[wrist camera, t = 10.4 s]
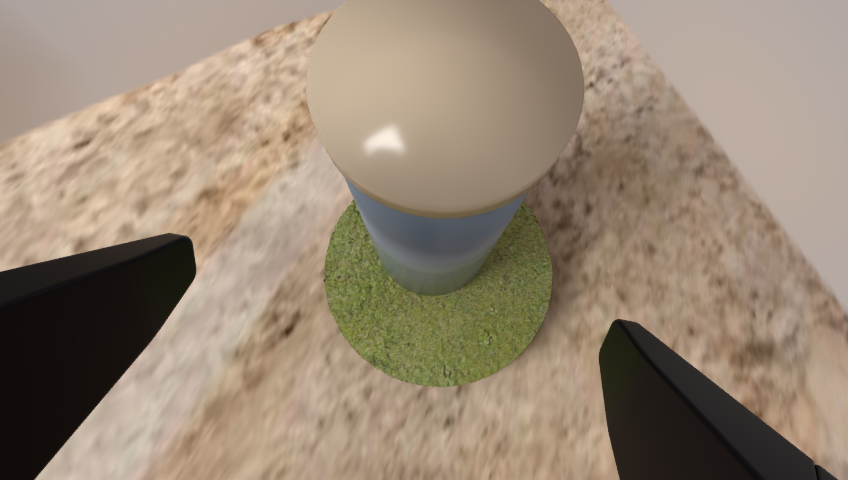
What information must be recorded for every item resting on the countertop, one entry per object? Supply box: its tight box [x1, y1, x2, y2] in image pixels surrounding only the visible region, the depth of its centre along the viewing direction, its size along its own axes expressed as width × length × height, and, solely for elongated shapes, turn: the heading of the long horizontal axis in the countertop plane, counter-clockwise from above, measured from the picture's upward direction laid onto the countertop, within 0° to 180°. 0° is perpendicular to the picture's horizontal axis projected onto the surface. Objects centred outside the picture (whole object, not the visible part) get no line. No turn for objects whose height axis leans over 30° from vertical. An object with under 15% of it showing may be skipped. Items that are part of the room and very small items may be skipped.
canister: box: [306, 0, 584, 296], centre depth 15 cm, size 6×6×12 cm
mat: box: [324, 200, 553, 387], centre depth 21 cm, size 11×11×2 cm
